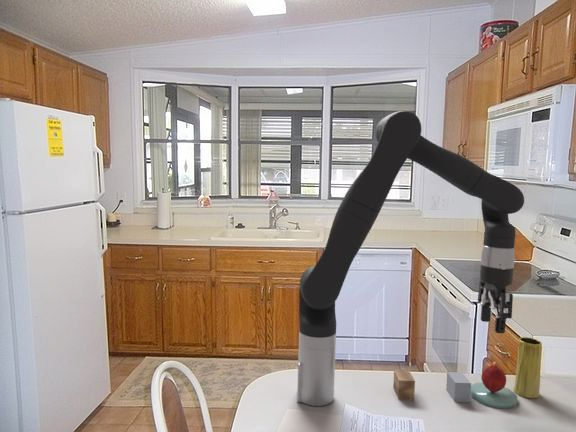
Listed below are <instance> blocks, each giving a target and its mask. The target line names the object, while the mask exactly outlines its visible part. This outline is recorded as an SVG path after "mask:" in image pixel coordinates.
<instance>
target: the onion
mask: <svg viewBox="0 0 576 432" xmlns="http://www.w3.org/2000/svg"><path fill="white" fill-rule="evenodd" d="M480 378H481V383H483V384H484V386H485V387H486V388H487V389H488V390H489V391H491V392H492V393H495V392H498V391H500V390H501V389H503V388H504V387H505V388H506V385H507V376H506V374H505V372H504V371H503V369H502V368H501V367H499V366H498V363H497V362H496V361H494V362H492V364H491V365H489V366H487V367H485V368H484V369H483V371H482V373H481V377H480Z"/></svg>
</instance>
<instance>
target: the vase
mask: <svg viewBox="0 0 576 432" xmlns="http://www.w3.org/2000/svg"><path fill="white" fill-rule="evenodd" d="M542 347H543V343H542V341H541V340H539V339H535V338H534V337H528V336H525V337H524V336H523V337H519V340H518V348H517V359H516V360H517V361H516V366H515V367H516V368H515V380H514V387H513V392H514V393H515V394H516V395H518V396H520V397H523V398H526V399H537V398H539V397H540V395H541V394H540V389H541V387H540V386H541V367H542V366H541V364H542V361H541V359H542Z"/></svg>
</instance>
